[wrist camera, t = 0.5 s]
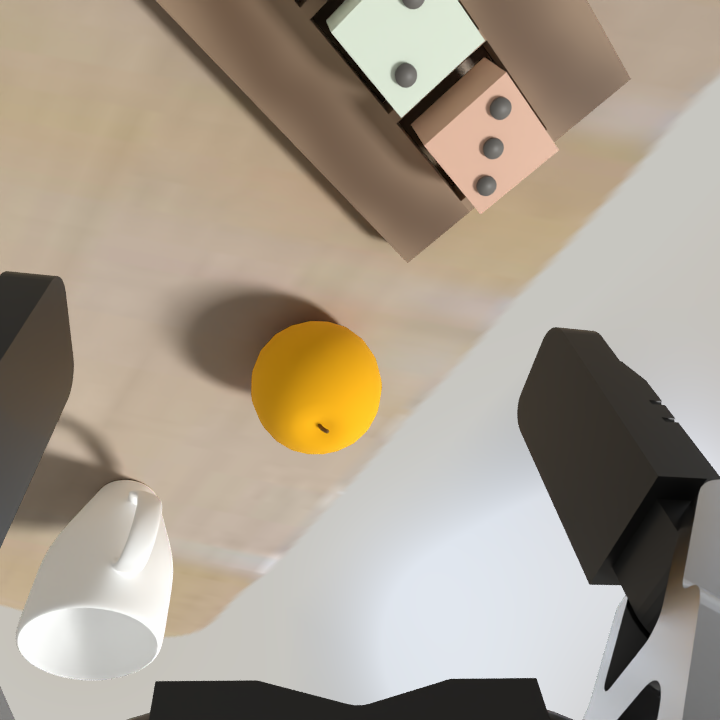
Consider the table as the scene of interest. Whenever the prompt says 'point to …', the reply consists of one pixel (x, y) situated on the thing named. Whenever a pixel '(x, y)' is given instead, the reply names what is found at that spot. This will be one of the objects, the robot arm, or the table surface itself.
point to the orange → (316, 387)
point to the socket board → (379, 120)
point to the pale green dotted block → (405, 43)
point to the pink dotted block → (484, 135)
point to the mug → (102, 589)
